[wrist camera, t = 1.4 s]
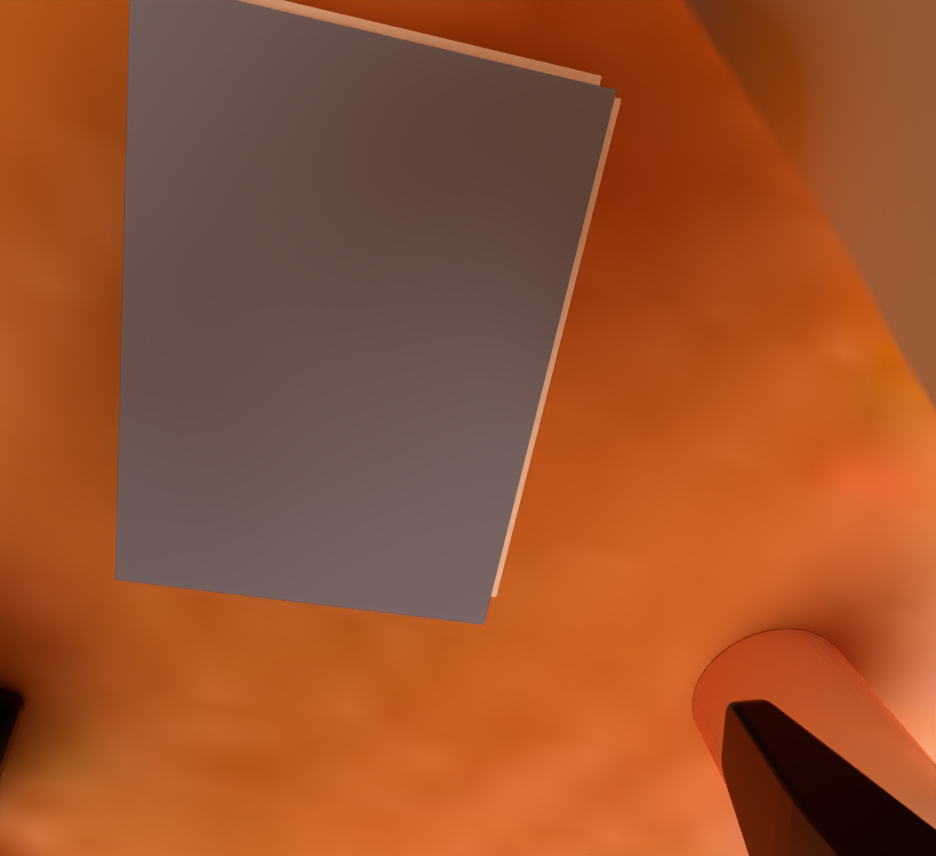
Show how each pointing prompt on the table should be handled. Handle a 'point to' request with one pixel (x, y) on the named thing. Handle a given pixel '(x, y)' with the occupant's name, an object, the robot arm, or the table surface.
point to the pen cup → (817, 709)
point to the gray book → (340, 301)
